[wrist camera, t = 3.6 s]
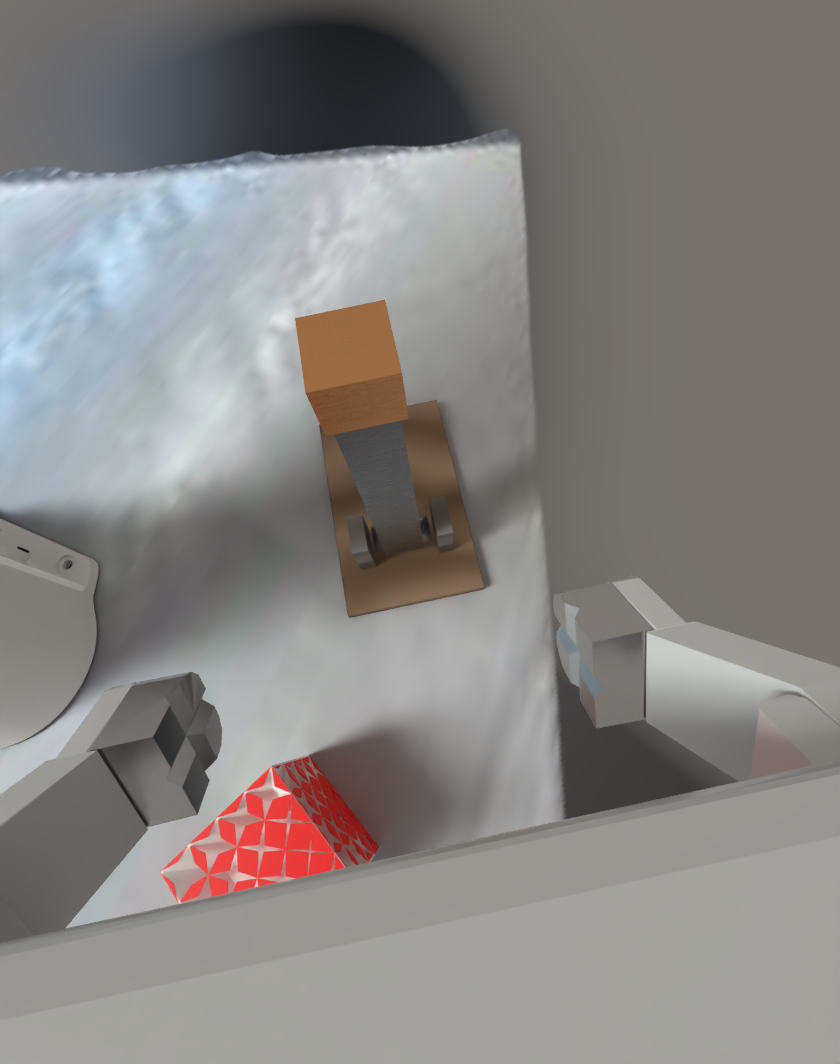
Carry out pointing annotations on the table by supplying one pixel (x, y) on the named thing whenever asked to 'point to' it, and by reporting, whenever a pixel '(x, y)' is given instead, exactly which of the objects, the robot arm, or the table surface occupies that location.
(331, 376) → the lever
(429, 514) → the lever base
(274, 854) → the puzzle cube
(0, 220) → the table surface
